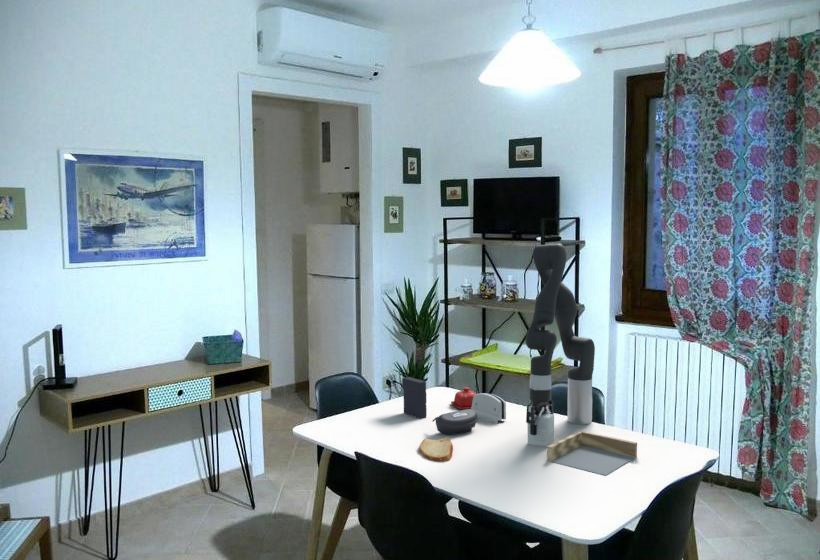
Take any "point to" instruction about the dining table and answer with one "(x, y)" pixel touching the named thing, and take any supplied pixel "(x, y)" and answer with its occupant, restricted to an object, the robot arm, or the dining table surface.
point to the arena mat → (593, 460)
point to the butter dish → (463, 399)
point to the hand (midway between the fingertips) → (539, 432)
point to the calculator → (414, 397)
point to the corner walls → (591, 445)
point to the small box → (543, 431)
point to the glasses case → (456, 421)
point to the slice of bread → (437, 449)
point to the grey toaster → (489, 407)
